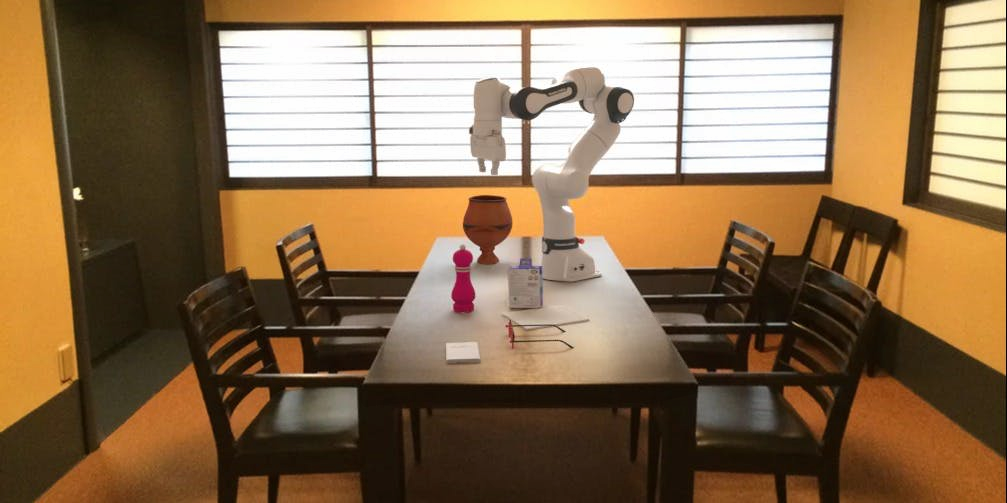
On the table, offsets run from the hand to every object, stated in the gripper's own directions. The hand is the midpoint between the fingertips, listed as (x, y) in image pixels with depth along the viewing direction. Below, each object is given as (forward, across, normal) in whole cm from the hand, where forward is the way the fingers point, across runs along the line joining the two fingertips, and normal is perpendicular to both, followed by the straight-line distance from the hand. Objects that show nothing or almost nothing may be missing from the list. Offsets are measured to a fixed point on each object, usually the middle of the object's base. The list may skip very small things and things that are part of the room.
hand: (488, 173), depth 241 cm
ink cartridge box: (+38, -23, -2) cm, 45 cm away
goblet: (+39, +39, -16) cm, 57 cm away
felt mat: (+38, -35, -2) cm, 52 cm away
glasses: (+39, -52, +9) cm, 66 cm away
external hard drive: (+39, -54, +31) cm, 73 cm away
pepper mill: (+39, -18, +16) cm, 45 cm away
